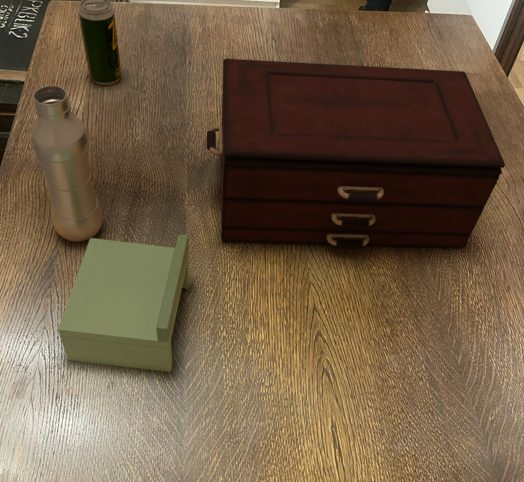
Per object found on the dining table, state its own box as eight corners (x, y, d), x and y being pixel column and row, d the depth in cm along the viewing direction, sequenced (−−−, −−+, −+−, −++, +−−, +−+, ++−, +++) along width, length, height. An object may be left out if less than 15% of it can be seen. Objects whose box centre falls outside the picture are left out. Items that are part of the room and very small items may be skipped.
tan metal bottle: (45, 238, 81) (5, 102, 64) (73, 207, 84) (41, 71, 68) (88, 254, 80) (58, 120, 63) (114, 222, 83) (92, 87, 67)
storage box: (205, 254, 81) (205, 162, 69) (207, 146, 94) (207, 53, 82) (481, 261, 85) (529, 175, 72) (446, 156, 98) (481, 68, 85)
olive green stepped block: (67, 360, 70) (52, 315, 63) (97, 271, 78) (86, 222, 71) (170, 372, 70) (167, 329, 63) (189, 282, 78) (188, 235, 71)
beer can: (90, 87, 101) (78, 14, 91) (88, 69, 104) (76, -4, 94) (123, 86, 102) (114, 13, 92) (120, 68, 105) (112, -5, 95)
